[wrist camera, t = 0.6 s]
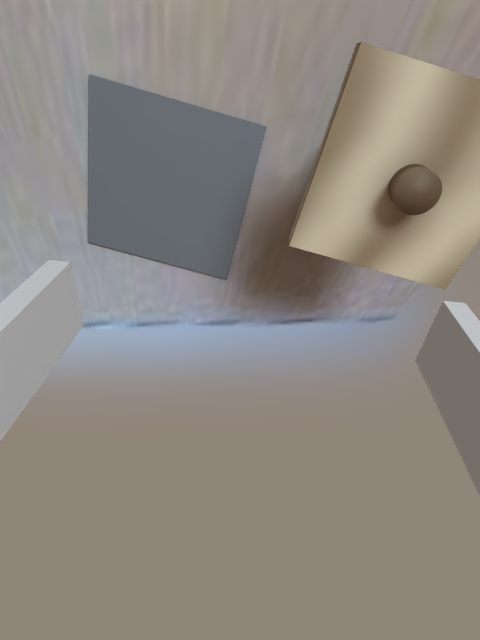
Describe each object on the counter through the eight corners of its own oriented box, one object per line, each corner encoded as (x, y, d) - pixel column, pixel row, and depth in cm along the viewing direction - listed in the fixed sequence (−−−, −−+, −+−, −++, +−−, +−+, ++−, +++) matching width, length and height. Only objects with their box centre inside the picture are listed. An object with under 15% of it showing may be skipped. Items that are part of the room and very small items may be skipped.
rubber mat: (88, 240, 41) (87, 241, 41) (90, 74, 32) (88, 74, 32) (226, 278, 42) (226, 279, 42) (265, 126, 33) (265, 127, 33)
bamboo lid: (288, 237, 25) (289, 256, 23) (356, 43, 19) (367, 40, 17) (438, 279, 26) (454, 301, 23) (551, 105, 20) (589, 110, 17)
